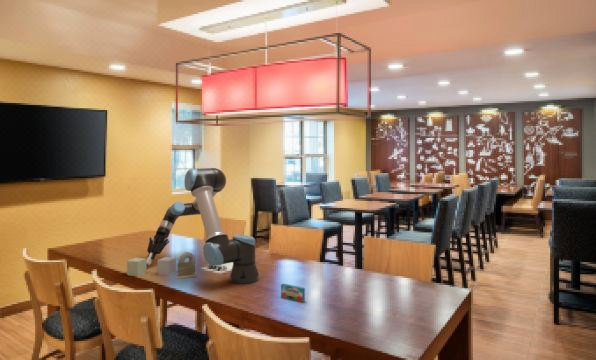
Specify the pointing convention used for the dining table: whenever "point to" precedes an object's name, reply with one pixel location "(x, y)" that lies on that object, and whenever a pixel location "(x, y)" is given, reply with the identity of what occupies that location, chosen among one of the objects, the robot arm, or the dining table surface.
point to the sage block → (136, 267)
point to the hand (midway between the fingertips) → (147, 263)
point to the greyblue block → (166, 266)
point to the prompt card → (186, 270)
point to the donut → (186, 255)
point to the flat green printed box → (293, 292)
